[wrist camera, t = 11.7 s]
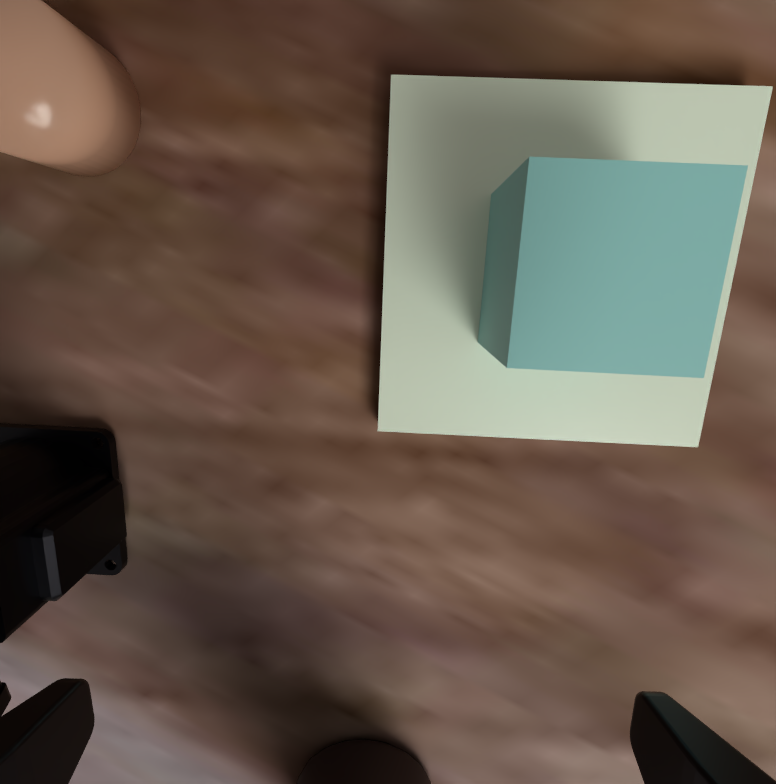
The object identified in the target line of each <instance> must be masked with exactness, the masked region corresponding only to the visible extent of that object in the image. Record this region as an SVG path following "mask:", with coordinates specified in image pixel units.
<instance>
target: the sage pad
mask: <svg viewBox="0 0 776 784" xmlns="http://www.w3.org/2000/svg"><path fill="white" fill-rule="evenodd" d="M772 88H773V87H772V86H740V85H708V84H676V83H645V82H613V81H581V80H549V79H517V78H486V77H454V76H422V75H391V91H390V117H389V144H388V171H387V197H386V224H385V251H384V277H383V304H382V330H381V357H380V384H379V410H378V431H386V432H406V433H426V434H446V435H466V436H486V437H506V438H526V439H546V440H566V441H586V442H606V443H626V444H646V445H666V446H686V447H698V444H699V439H700V435H701V430H702V425H703V420H704V415H705V410H706V406H707V401H708V396H709V391H710V386H711V382H712V377H713V372H714V367H715V362H716V358H717V353H718V348H719V343H720V338H721V333H722V329H723V324H724V319H725V314H726V309H727V305H728V300H729V295H730V290H731V285H732V281H733V276H734V271H735V266H736V261H737V256H738V252H739V247H740V242H741V237H742V232H743V228H744V223H745V218H746V213H747V208H748V204H749V199H750V194H751V189H752V184H753V179H754V175H755V170H756V165H757V160H758V155H759V151H760V146H761V141H762V136H763V131H764V127H765V122H766V117H767V112H768V107H769V102H770V98H771V93H772ZM529 157H552V158H577V159H601V160H626V161H651V162H675V163H700V164H725V165H748V169H747V173H746V178H745V183H744V188H743V193H742V197H741V202H740V207H739V212H738V217H737V221H736V226H735V231H734V236H733V241H732V245H731V250H730V255H729V260H728V265H727V269H726V274H725V279H724V284H723V289H722V293H721V298H720V303H719V308H718V313H717V317H716V322H715V327H714V332H713V337H712V341H711V346H710V351H709V356H708V361H707V365H706V370H705V375H704V378H691V377H672V376H652V375H633V374H613V373H593V372H574V371H554V370H535V369H515V368H506V367H505V366H504V365H503V364H502V363H500V362H499V361H498V360H497V359H496V358H495V357H494V356H492V355H491V354H490V353H489V352H488V351H487V350H486V349H484V348H483V347H482V346H481V345H480V344H479V343H478V333H479V322H480V311H481V300H482V289H483V278H484V267H485V256H486V245H487V234H488V223H489V212H490V201H491V194H492V193H493V192H494V191H495V190H496V189H497V188H498V187H499V186H500V185H501V184H502V183H503V182H504V181H505V180H506V179H507V178H508V177H509V176H510V175H511V174H512V173H513V172H514V171H515V170H516V169H517V168H518V167H519V166H520V165H521V164H522V163H523V162H524V161H525V160H526V159H528V158H529Z"/></svg>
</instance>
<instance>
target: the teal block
mask: <svg viewBox="0 0 776 784" xmlns="http://www.w3.org/2000/svg"><path fill="white" fill-rule="evenodd" d="M747 169H748V165H725V164H700V163H675V162H651V161H626V160H601V159H577V158H552V157H529V158H528V159H526V160H525V161H524V162H523V163H522V164H521V165H520V166H519V167H518V168H517V169H516V170H515V171H514V172H513V173H512V174H511V175H510V176H509V177H508V178H507V179H506V180H505V181H504V182H503V183H502V184H501V185H500V186H499V187H498V188H497V189H496V190H495V191H494V192H493V193H492V194H491V201H490V212H489V223H488V234H487V245H486V256H485V267H484V278H483V289H482V300H481V311H480V322H479V333H478V343H479V344H480V345H481V346H482V347H483V348H484V349H486V350H487V351H488V352H489V353H490V354H491V355H492V356H494V357H495V358H496V359H497V360H498V361H499V362H500V363H502V364H503V365H504V366H505V367H506V368H515V369H535V370H554V371H574V372H593V373H613V374H633V375H652V376H672V377H691V378H704V375H705V370H706V365H707V361H708V356H709V351H710V346H711V341H712V337H713V332H714V327H715V322H716V317H717V313H718V308H719V303H720V298H721V293H722V289H723V284H724V279H725V274H726V269H727V265H728V260H729V255H730V250H731V245H732V241H733V236H734V231H735V226H736V221H737V217H738V212H739V207H740V202H741V197H742V193H743V188H744V183H745V178H746V173H747Z"/></svg>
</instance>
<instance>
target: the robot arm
mask: <svg viewBox="0 0 776 784" xmlns="http://www.w3.org/2000/svg"><path fill="white" fill-rule="evenodd" d="M97 438H100V439H101V440H102V442H103V446H101V445H100V444H99V443H98V441H97ZM126 535H127V533H126V523H125V513H124V503H123V493H122V484H121V482H120V481H119V473H118V463H117V453H116V443H115V438H114V436H113V435H112V433H111V432H109V431H108V430H106V429H100V428H80V427H61V426H41V425H21V424H1V423H0V643H2V642H3V641H5V640H6V639H7V638H8V637H9V636H10V635H11V634H12V633H13V632H14V631H16V630H17V629H18V628H19V627H20V626H21V625H22V624H23V623H24V622H26V621H27V620H28V619H29V618H30V617H31V616H32V615H33V614H34V613H36V612H37V611H38V610H39V609H40V608H41V607H42V606H43V605H44V604H45V603H47V602H48V601H57V600H58V599H60V598H61V597H62V596H63V595H64V594H65V593H66V592H67V591H68V590H69V589H70V588H71V587H73V586H74V585H75V584H76V583H77V582H78V581H79V580H80V579H81V578H82V577H83V576H84V575H86V574H99V575H116V574H118V573H120V572H121V570H122V569H123V568H124V567H125V566H126V565H127V552H126V542H125V537H126ZM111 560H113V561H114V562H115V563H116V564H113V563H112V562H111ZM10 700H11V695H10V693H9V690H8V688H7V685H6V683H3V682H2V683H1V681H0V784H68V783H69V781H70V779H71V777H72V775H73V773H74V771H75V769H76V766H77V764H78V762H79V760H80V758H81V756H82V754H83V752H84V749H85V747H86V745H87V743H88V741H89V739H90V737H91V734H92V731H93V727H94V712H93V706H92V699H91V693H90V687H89V683H88V682H87V681H86V680H84V679H68V678H64V679H60V680H57V681H55V682H54V683H52V684H51V685H49V686H48V687H46V688H44V689H43V690H41V691H40V692H38V693H37V694H35V695H34V696H32V697H31V698H29V699H28V700H26V701H25V702H23V703H21V704H20V705H18V706H17V707H15V708H14V709H12V710H11V711H9V712H8V713H6V714H5V715H3V716H2V714H3V712H4V711H5V709H6V707H7V705H8V704H9V702H10ZM1 716H2V717H1ZM630 741H631V745H632V749H633V752H634V755H635V758H636V761H637V764H638V766H639V769H640V772H641V775H642V778H643V781H644V783H645V784H776V781H775V780H774V779H773V778H771V777H770V776H769V775H768V774H766V773H765V772H764V771H763V770H761V769H760V768H759V767H758V766H756V765H755V764H754V763H753V762H751V761H750V760H749V759H748V758H746V757H745V756H744V755H743V754H741V753H740V752H739V751H738V750H736V749H735V748H734V747H733V746H731V745H730V744H729V743H728V742H726V741H725V740H724V739H723V738H721V737H720V736H719V735H718V734H716V733H715V732H714V731H713V730H711V729H710V728H709V727H708V726H706V725H705V724H704V723H703V722H701V721H700V720H699V719H698V718H696V717H695V716H694V715H693V714H691V713H690V712H689V711H688V710H686V709H685V708H684V707H683V706H681V705H680V704H679V703H678V702H676V701H675V700H674V699H673V698H671V697H670V696H669V695H667V694H665V693H663V692H644V691H642V692H639V693H638V694H637V695H636V697H635V702H634V708H633V714H632V720H631V727H630Z"/></svg>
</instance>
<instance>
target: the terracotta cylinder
mask: <svg viewBox="0 0 776 784" xmlns="http://www.w3.org/2000/svg"><path fill="white" fill-rule="evenodd" d="M140 124H141V109H140V102H139V98H138V94H137V91H136V88H135V86H134V83H133V81H132V79H131V77H130V75H129V74H128V72H127V71H126V69H125V68H124V67H123V65H122V64H121V63H120V62H119V60H117V59H116V58H115V57H114V56H113V55H112V54H111V53H110V52H108V51H107V50H106V49H105V48H103V47H102V46H101V45H99V44H98V43H97V42H95V41H94V40H93V39H92V38H90V37H89V36H88V35H86V34H85V33H84V32H82V31H81V30H80V29H78V28H77V27H76V26H75V25H73V24H72V23H71V22H69V21H68V20H67V19H65V18H64V17H63V16H62V15H60V14H59V13H58V12H56V11H55V10H54V9H52V8H51V7H50V6H48V5H47V4H46V3H45V2H43V1H42V0H0V152H2V153H6V154H9V155H12V156H15V157H18V158H22V159H25V160H28V161H31V162H34V163H38V164H41V165H44V166H47V167H50V168H53V169H57V170H60V171H63V172H66V173H69V174H73V175H77V176H85V177H90V176H99V175H103V174H106V173H109V172H110V171H112V170H114V169H116V168H117V167H118V166H120V165H121V164H122V163H123V162H124V161H125V160H126V159H127V158H128V156H129V155H130V154H131V152H132V150H133V149H134V147H135V145H136V142H137V139H138V136H139V131H140Z"/></svg>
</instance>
